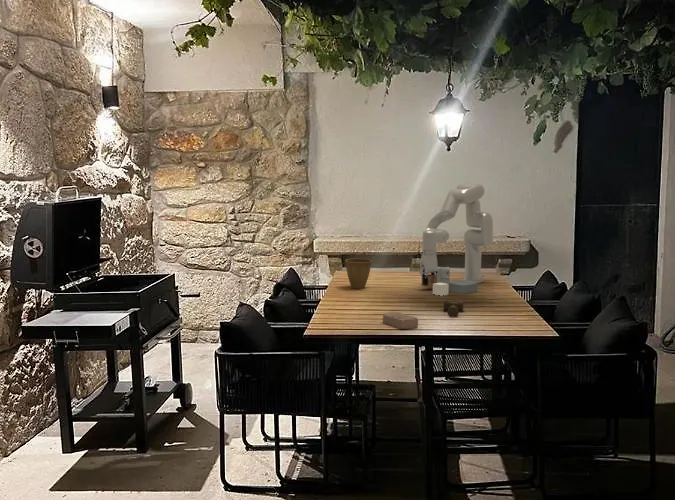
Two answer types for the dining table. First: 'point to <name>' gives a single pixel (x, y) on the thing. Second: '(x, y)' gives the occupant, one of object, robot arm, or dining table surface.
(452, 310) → the kendama
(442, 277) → the light bulb box
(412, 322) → the brick
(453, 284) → the base block
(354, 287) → the plant pot
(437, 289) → the off-white cube
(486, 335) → the dining table surface
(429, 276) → the walnut cube
